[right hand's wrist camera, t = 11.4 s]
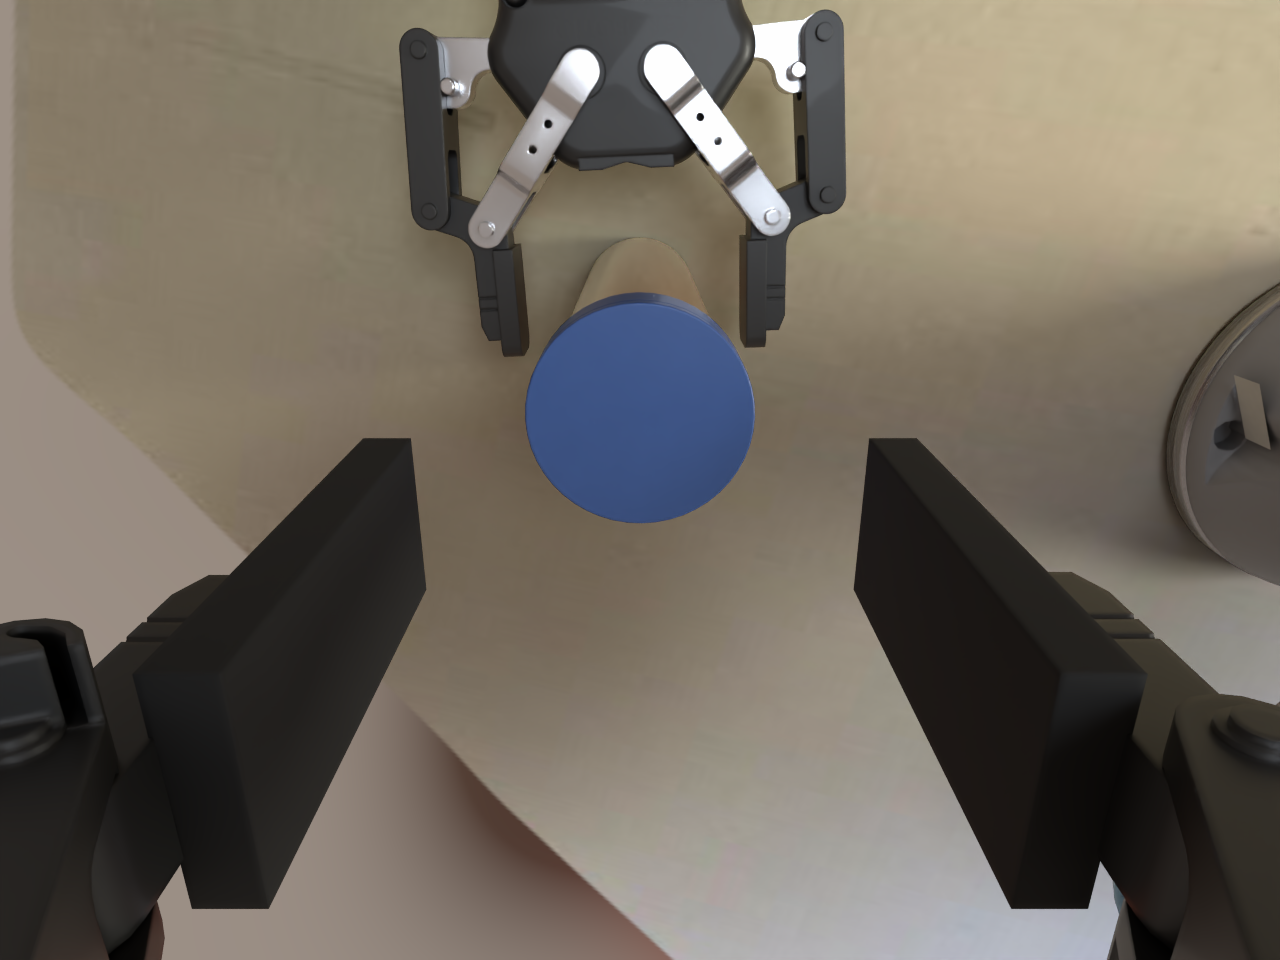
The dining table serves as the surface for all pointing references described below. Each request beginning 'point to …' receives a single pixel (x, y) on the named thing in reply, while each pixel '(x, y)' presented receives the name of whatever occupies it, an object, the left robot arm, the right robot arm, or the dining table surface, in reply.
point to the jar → (640, 273)
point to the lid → (640, 408)
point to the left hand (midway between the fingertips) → (635, 347)
